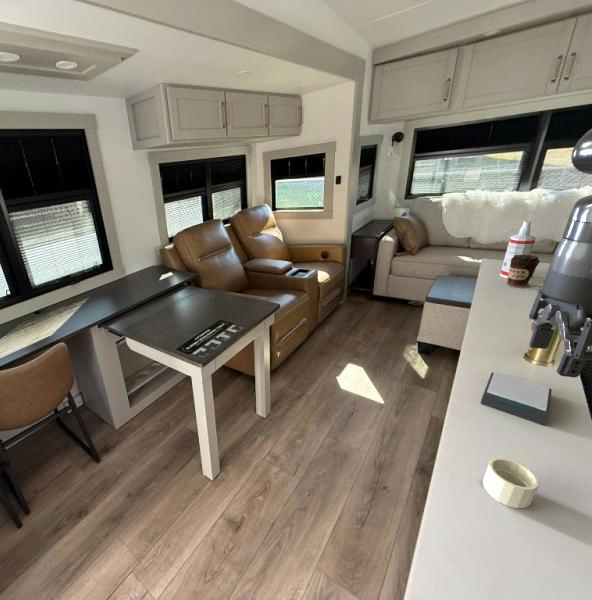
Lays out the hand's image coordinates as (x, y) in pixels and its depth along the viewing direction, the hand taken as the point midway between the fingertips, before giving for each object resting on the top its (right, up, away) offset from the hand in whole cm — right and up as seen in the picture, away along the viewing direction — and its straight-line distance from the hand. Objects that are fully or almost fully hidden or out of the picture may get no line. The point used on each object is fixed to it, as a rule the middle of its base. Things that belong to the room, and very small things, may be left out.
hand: (551, 360), depth 53 cm
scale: (+21, -14, +26) cm, 36 cm away
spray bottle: (+87, +21, +92) cm, 129 cm away
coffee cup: (+80, +16, +83) cm, 116 cm away
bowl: (-2, -26, +5) cm, 26 cm away
